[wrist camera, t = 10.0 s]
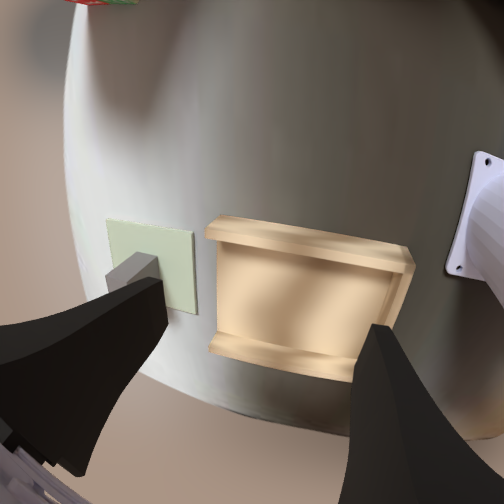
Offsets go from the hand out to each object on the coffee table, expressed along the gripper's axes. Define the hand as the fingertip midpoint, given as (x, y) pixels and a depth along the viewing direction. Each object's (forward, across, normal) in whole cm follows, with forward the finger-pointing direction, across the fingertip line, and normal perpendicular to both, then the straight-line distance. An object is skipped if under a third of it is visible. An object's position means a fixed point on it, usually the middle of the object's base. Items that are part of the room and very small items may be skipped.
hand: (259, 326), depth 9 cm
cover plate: (+10, +11, +5) cm, 16 cm away
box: (+9, -1, +5) cm, 11 cm away
